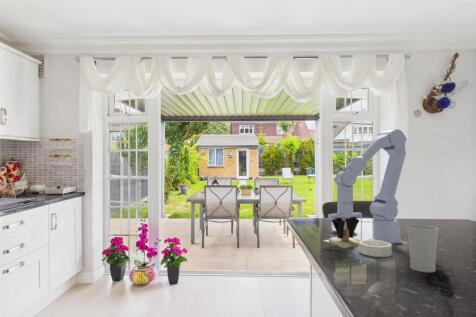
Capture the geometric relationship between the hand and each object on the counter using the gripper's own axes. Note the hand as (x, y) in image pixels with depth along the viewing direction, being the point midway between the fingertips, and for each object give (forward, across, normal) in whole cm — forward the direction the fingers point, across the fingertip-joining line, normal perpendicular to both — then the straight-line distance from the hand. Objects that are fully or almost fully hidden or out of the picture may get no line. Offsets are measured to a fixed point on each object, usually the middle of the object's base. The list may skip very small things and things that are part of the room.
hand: (345, 237), depth 121 cm
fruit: (+2, -13, -16) cm, 21 cm away
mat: (+2, 0, 0) cm, 2 cm away
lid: (+2, 0, 0) cm, 2 cm away
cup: (+2, -1, +32) cm, 32 cm away
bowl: (+2, 0, +15) cm, 15 cm away
